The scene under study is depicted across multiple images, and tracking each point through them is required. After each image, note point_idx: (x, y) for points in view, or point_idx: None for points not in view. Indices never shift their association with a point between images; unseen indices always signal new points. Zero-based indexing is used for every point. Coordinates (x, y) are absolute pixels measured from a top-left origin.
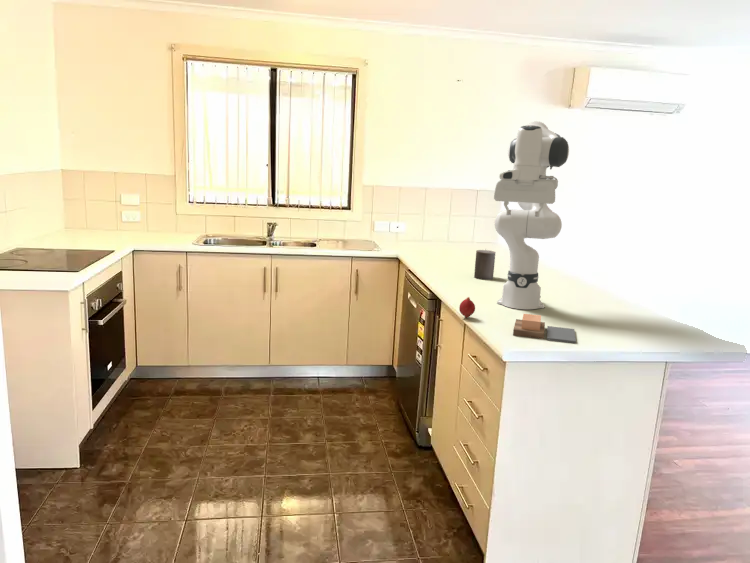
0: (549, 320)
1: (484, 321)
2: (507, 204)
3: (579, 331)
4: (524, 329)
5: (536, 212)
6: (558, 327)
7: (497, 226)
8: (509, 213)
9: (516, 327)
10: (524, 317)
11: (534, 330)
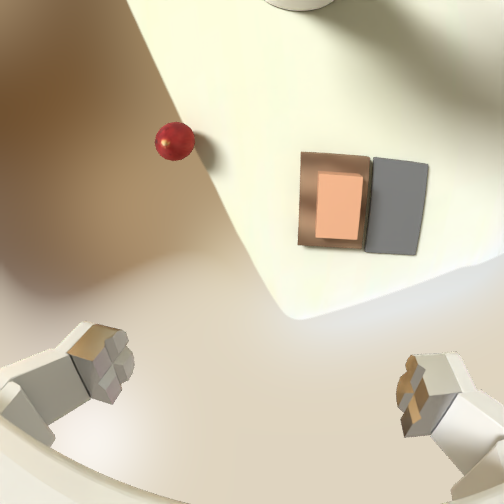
0: (378, 85)
1: (227, 153)
2: (50, 436)
3: (436, 162)
4: None
5: (417, 426)
6: (397, 163)
7: None
8: (117, 375)
9: (303, 226)
10: (321, 212)
11: None
